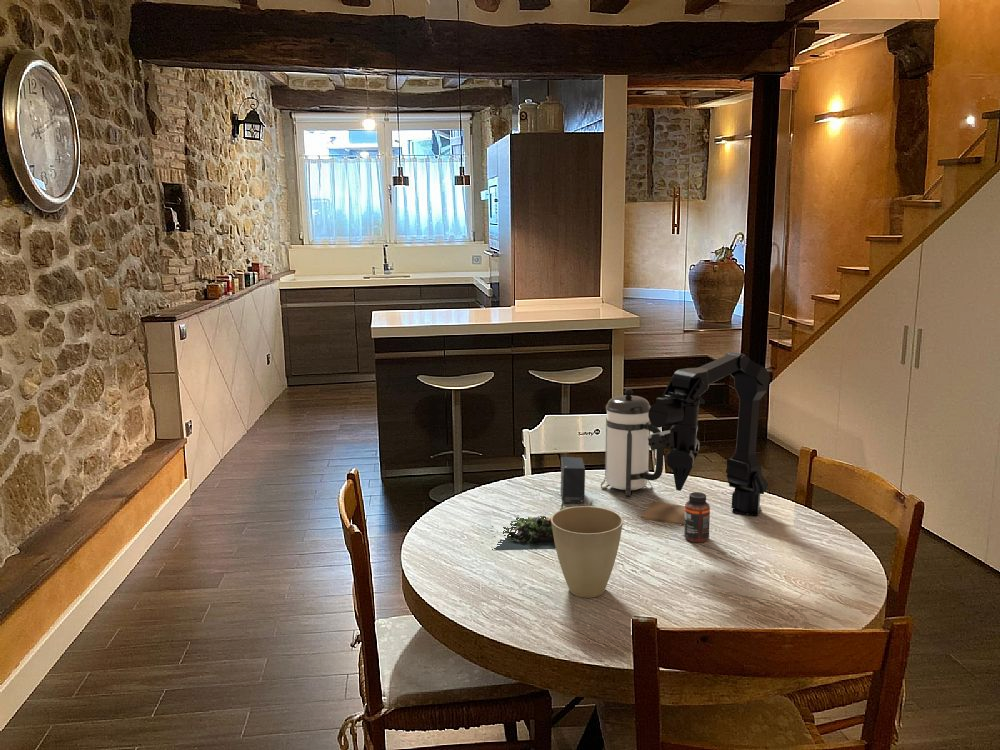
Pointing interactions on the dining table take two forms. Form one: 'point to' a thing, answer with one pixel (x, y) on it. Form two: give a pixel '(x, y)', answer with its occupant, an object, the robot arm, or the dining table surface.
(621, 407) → the coffee press
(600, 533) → the plant pot
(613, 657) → the dining table surface
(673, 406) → the robot arm
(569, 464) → the small box
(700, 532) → the supplement bottle
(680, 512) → the walnut trivet
